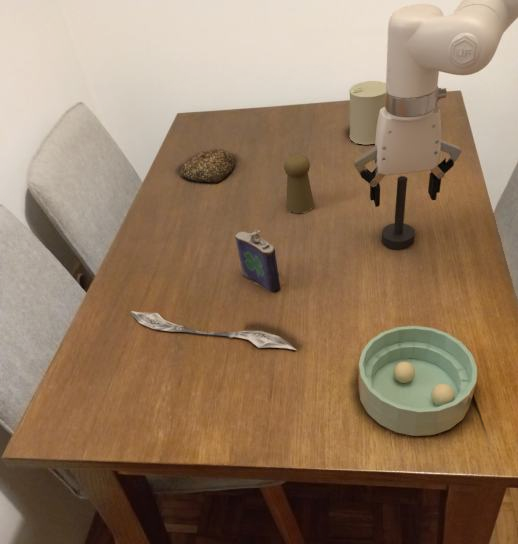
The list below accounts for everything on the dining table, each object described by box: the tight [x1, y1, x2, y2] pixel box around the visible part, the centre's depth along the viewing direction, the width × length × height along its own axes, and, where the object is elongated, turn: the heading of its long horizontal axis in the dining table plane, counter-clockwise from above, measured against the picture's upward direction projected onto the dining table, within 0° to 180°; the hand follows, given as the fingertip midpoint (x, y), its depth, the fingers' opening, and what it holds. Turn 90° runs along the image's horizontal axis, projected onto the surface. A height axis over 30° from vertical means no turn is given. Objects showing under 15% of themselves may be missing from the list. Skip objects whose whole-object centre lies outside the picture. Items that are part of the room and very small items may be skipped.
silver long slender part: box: [130, 310, 297, 351], centre depth 89 cm, size 32×1×5 cm
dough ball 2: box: [431, 384, 455, 406], centre depth 72 cm, size 3×3×3 cm
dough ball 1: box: [393, 362, 415, 383], centre depth 75 cm, size 3×3×3 cm
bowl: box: [357, 325, 478, 437], centre depth 73 cm, size 15×15×6 cm
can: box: [348, 80, 386, 144], centre depth 125 cm, size 9×9×12 cm
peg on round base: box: [381, 175, 416, 251], centre depth 95 cm, size 6×6×13 cm
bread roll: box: [180, 148, 236, 184], centre depth 126 cm, size 13×12×5 cm
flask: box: [235, 229, 282, 294], centre depth 93 cm, size 9×3×11 cm, turn 43°
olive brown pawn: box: [283, 153, 315, 214], centre depth 108 cm, size 6×6×11 cm
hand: (403, 199), depth 93 cm, fingers open, 9 cm apart
